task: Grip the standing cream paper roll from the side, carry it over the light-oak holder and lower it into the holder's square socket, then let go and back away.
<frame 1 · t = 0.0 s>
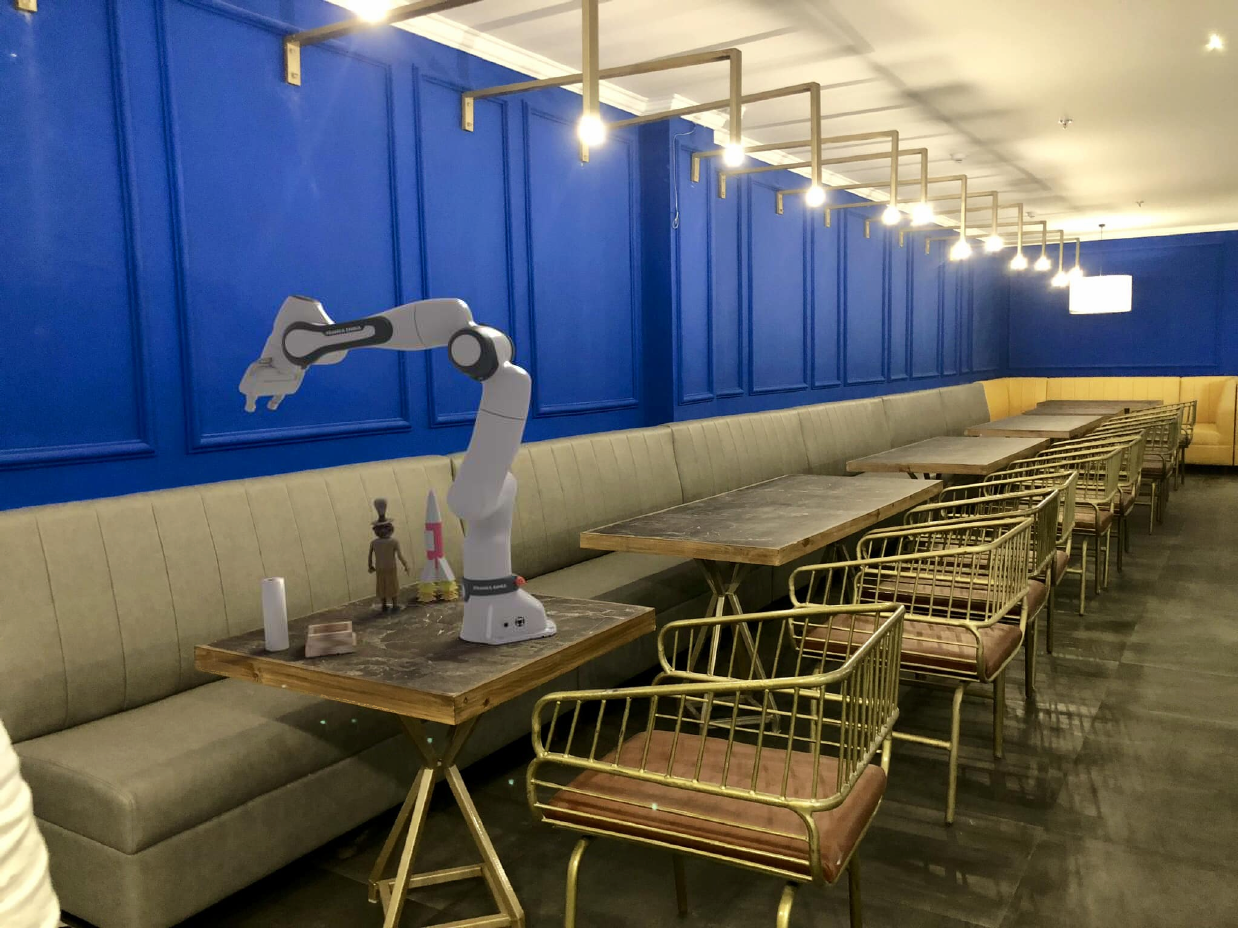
hand: (260, 409, 239), 54 cm above the table, tool tilted 30°, fingers open, 8 cm apart
holder: (331, 647, 226), on the table
roll: (277, 647, 228), on the table
toy rocket: (437, 597, 272), on the table
figurine: (391, 611, 259), on the table
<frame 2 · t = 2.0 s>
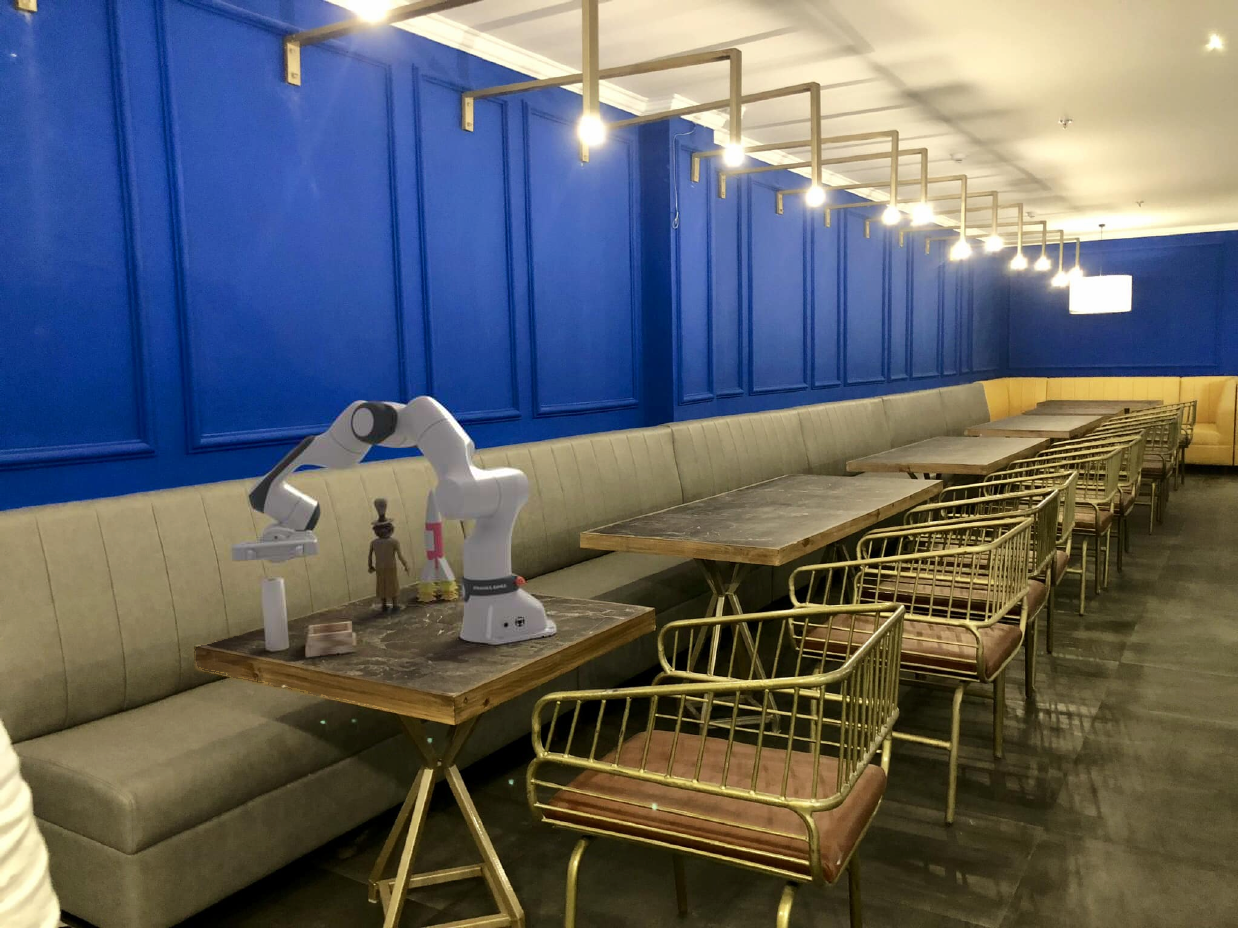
hand: (274, 554, 237), 20 cm above the table, tool horizontal, fingers open, 8 cm apart
nothing on the table moved.
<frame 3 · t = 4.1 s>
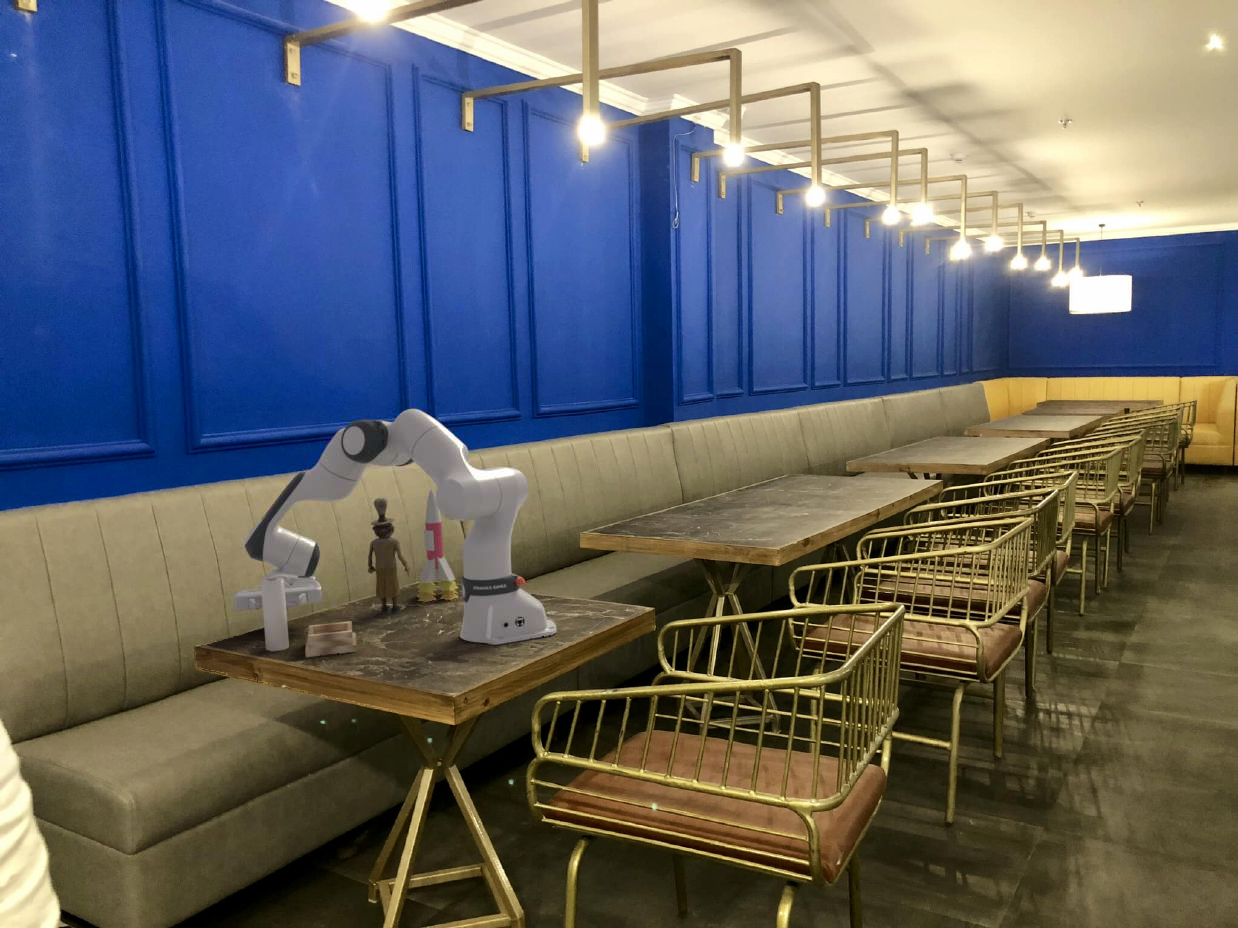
hand: (277, 604, 233), 9 cm above the table, tool horizontal, fingers open, 8 cm apart
nothing on the table moved.
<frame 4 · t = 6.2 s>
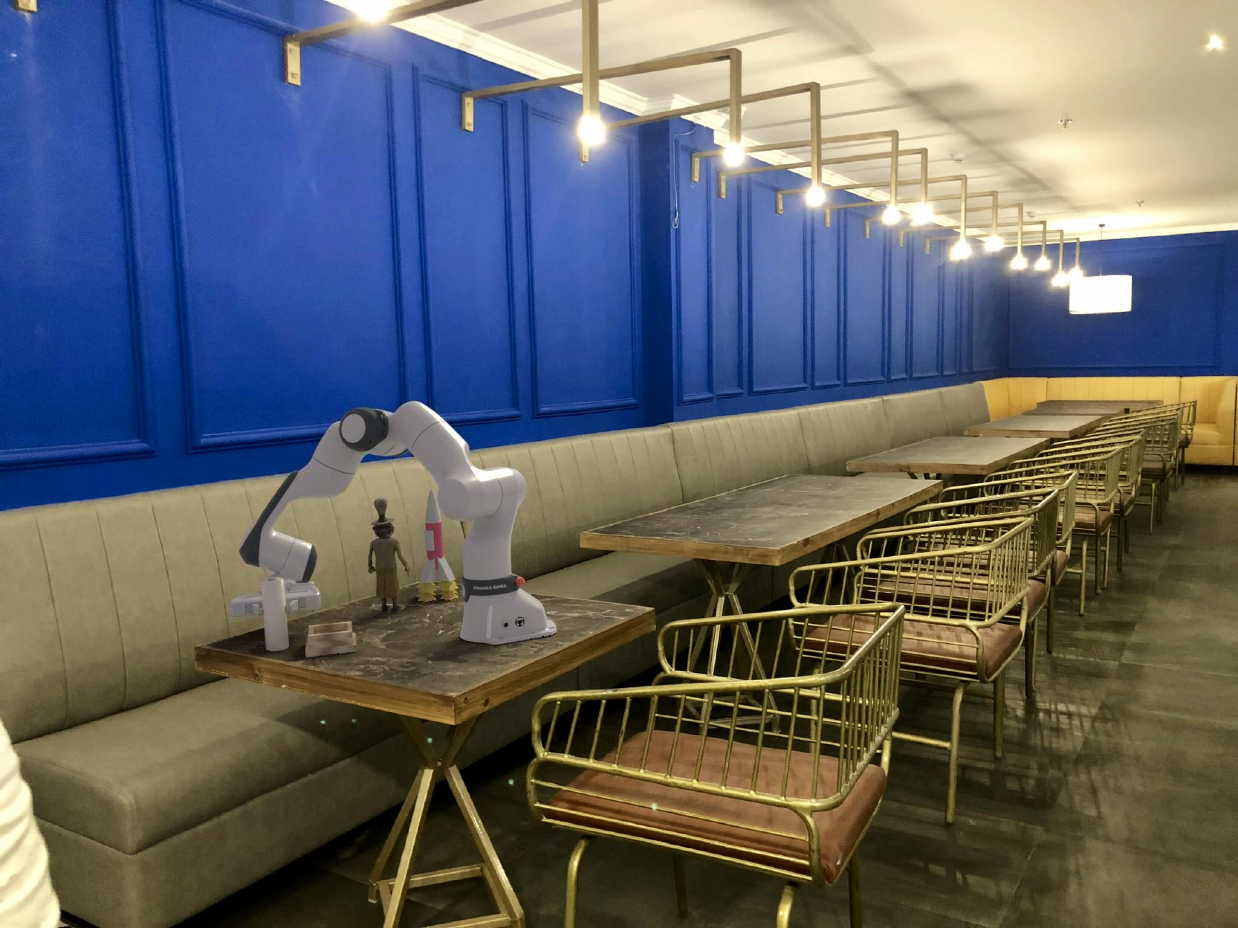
hand: (274, 610, 226), 9 cm above the table, tool horizontal, fingers closed on roll, 5 cm apart
roll: (277, 647, 228), on the table, touching gripper
everything else where it was.
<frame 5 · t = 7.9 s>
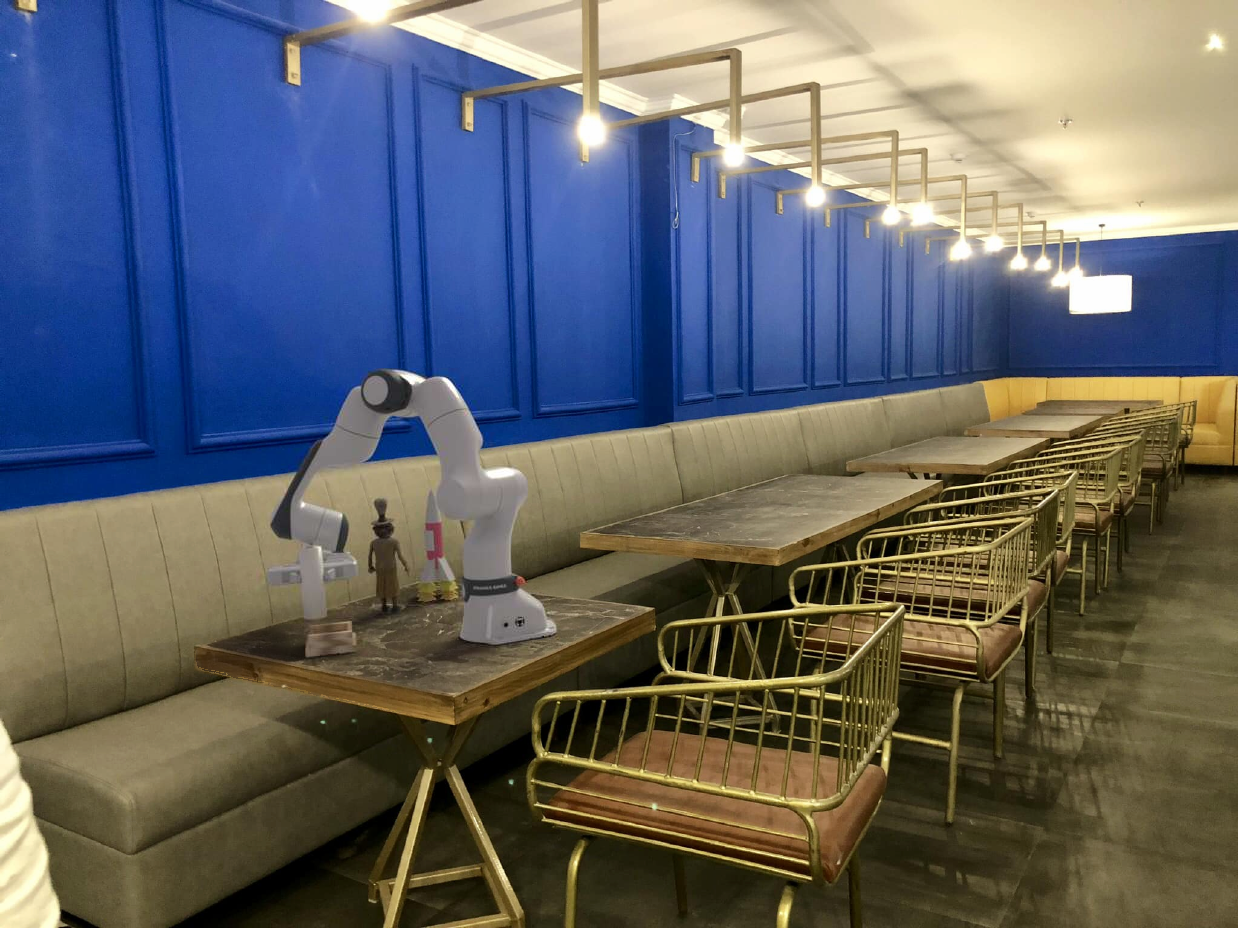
hand: (312, 578, 224), 16 cm above the table, tool horizontal, fingers closed on roll, 5 cm apart
roll: (315, 616, 226), point 7 cm above the table, touching gripper
everything else where it was.
when the fingers open (12 cm above the table, at t = 9.8 s): roll drops 1 cm, resting on holder.
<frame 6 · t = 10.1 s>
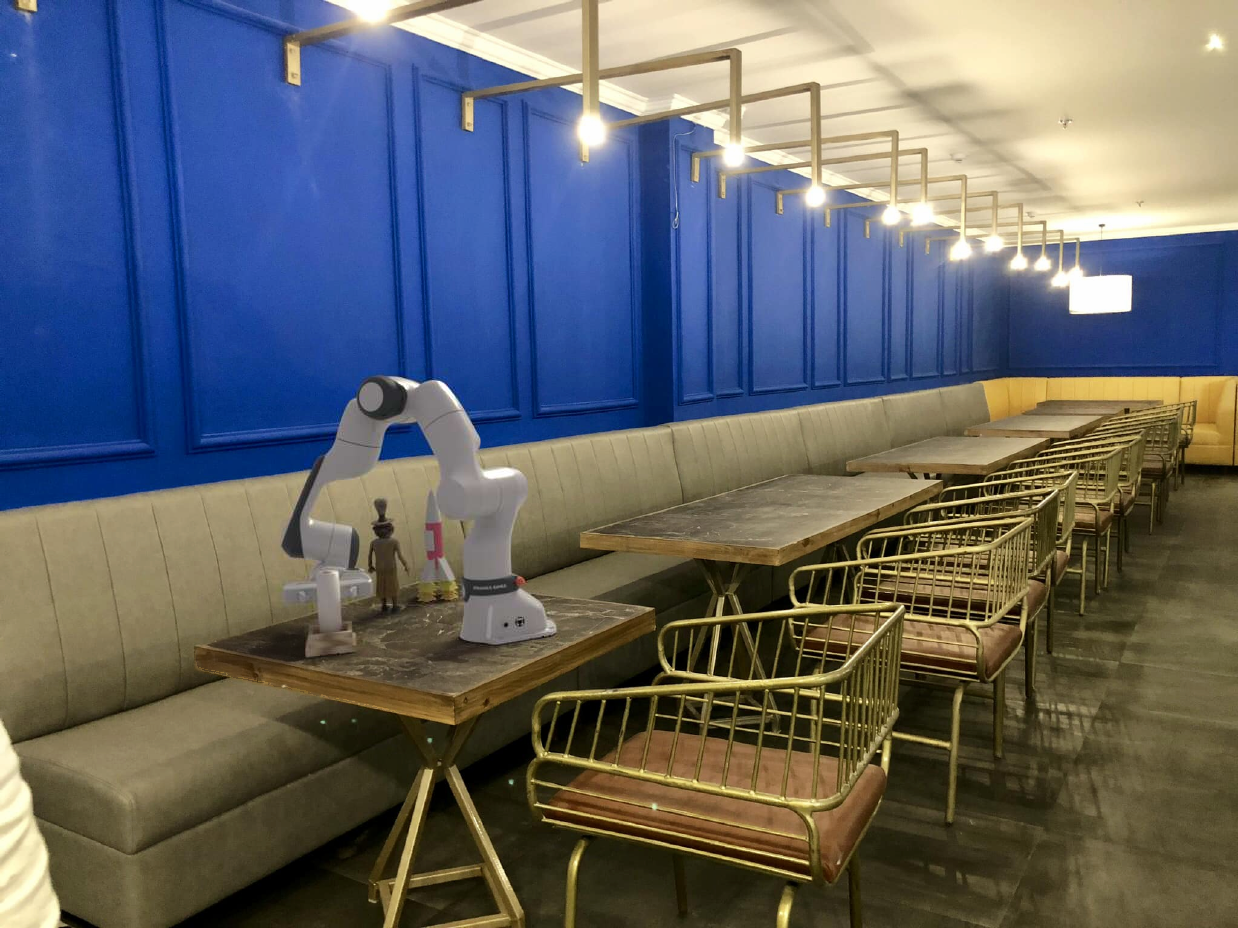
hand: (327, 597, 224), 12 cm above the table, tool horizontal, fingers open, 8 cm apart
roll: (331, 641, 226), point 2 cm above the table, touching holder
everything else where it was.
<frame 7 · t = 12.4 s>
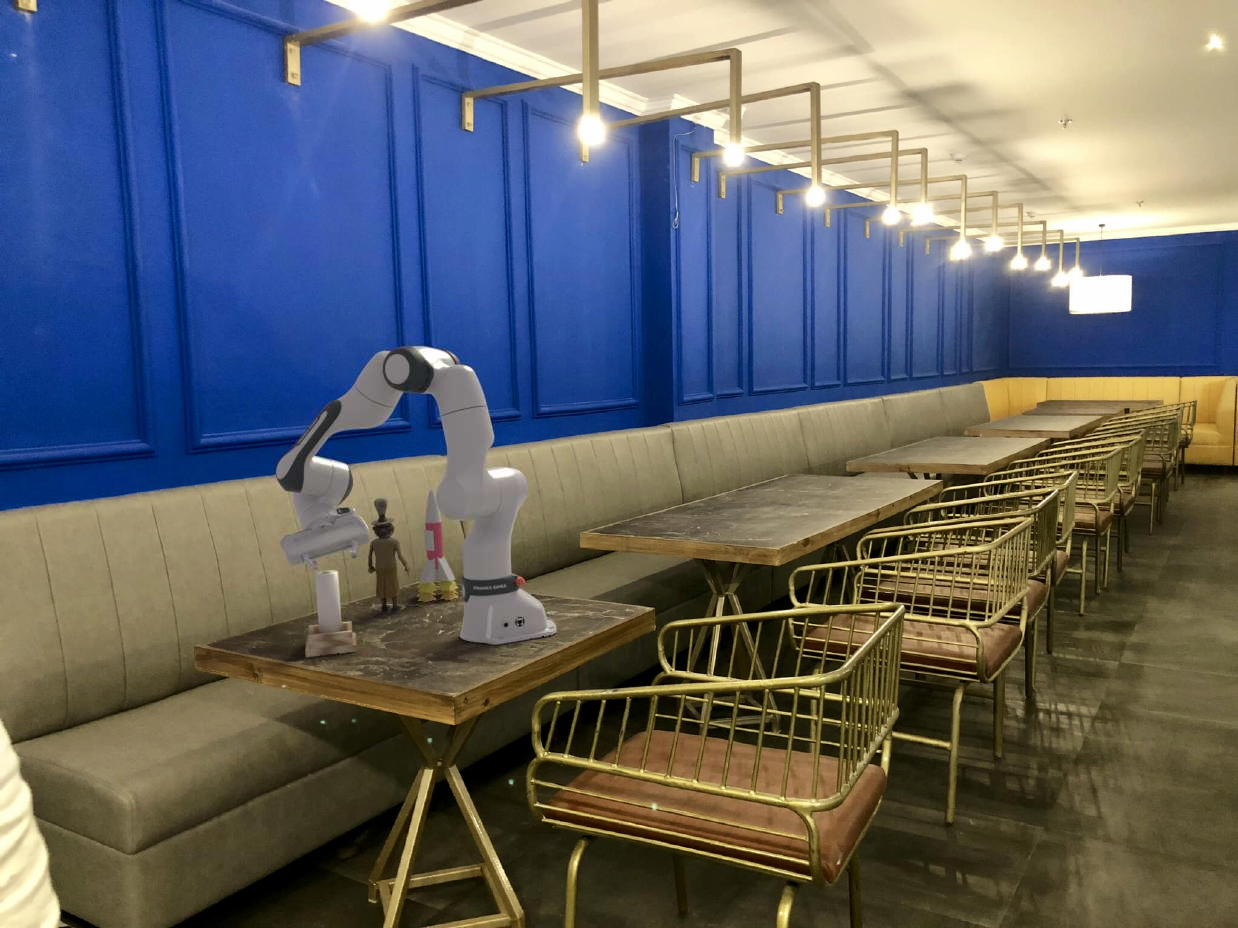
hand: (335, 562, 235), 18 cm above the table, tool tilted 60°, fingers open, 8 cm apart
nothing on the table moved.
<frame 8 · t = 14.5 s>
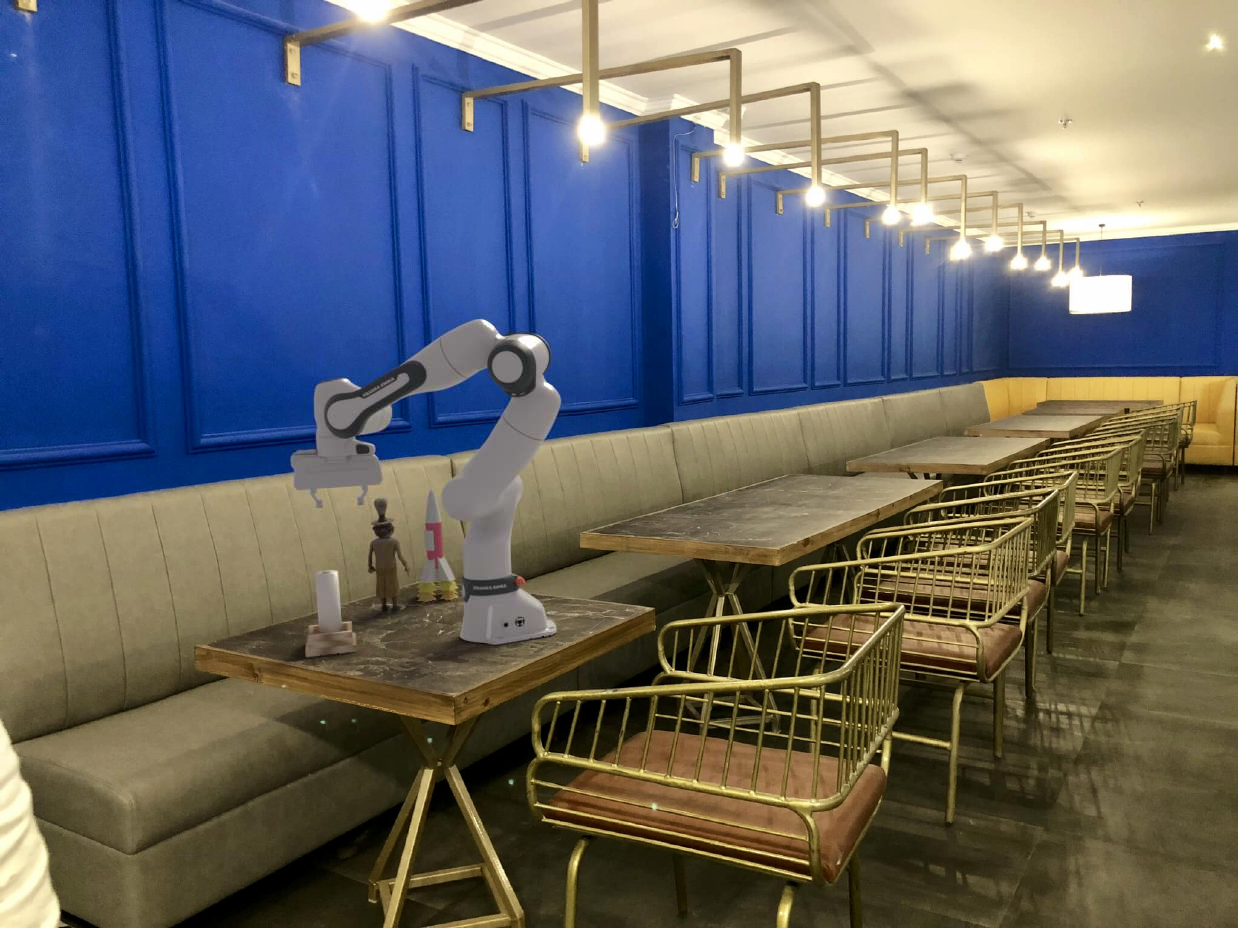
hand: (340, 506, 234), 31 cm above the table, tool pointing down, fingers open, 8 cm apart
nothing on the table moved.
at the end: roll 0.1 cm off-centre on the holder, point 1.5 cm above the holder's base; roll tilted 0°; the gripper is holding nothing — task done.
